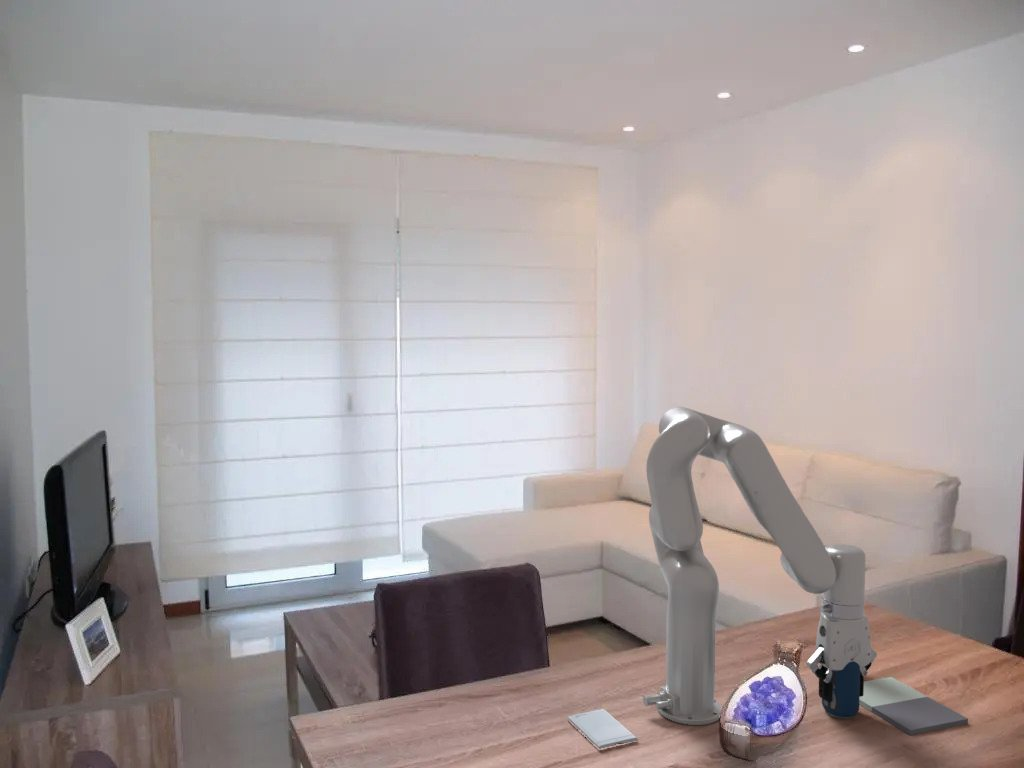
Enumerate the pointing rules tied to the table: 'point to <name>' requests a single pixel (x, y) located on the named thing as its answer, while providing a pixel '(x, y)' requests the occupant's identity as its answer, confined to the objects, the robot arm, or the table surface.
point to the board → (907, 707)
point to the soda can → (844, 692)
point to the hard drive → (602, 728)
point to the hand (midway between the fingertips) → (841, 695)
